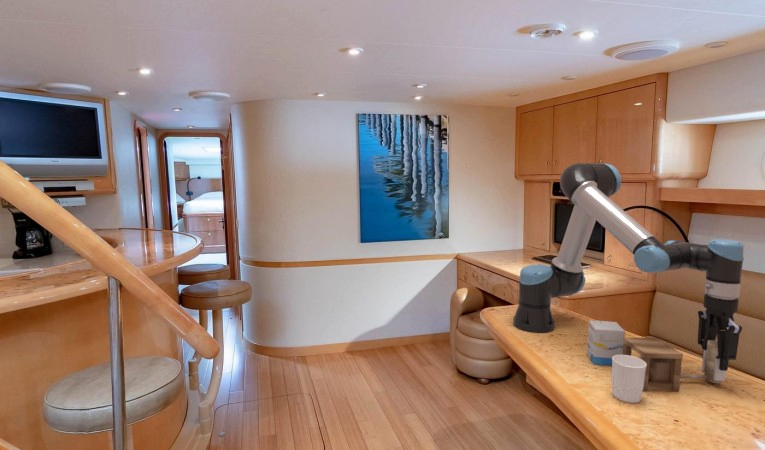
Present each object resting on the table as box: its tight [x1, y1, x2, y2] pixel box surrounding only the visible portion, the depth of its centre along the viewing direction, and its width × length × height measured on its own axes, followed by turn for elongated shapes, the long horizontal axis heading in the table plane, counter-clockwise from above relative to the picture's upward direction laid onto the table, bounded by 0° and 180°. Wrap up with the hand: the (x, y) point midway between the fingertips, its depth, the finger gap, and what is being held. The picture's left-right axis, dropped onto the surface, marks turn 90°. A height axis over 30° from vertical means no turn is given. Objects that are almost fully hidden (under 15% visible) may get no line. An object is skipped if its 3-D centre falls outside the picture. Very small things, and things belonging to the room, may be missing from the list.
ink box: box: [586, 320, 626, 367], centre depth 135 cm, size 8×8×12 cm
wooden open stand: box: [623, 337, 684, 393], centre depth 121 cm, size 11×10×11 cm
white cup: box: [611, 355, 647, 404], centre depth 113 cm, size 8×8×10 cm
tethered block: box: [648, 339, 724, 384], centre depth 120 cm, size 6×20×11 cm, turn 87°
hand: (713, 375), depth 120 cm, fingers closed on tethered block, 4 cm apart
